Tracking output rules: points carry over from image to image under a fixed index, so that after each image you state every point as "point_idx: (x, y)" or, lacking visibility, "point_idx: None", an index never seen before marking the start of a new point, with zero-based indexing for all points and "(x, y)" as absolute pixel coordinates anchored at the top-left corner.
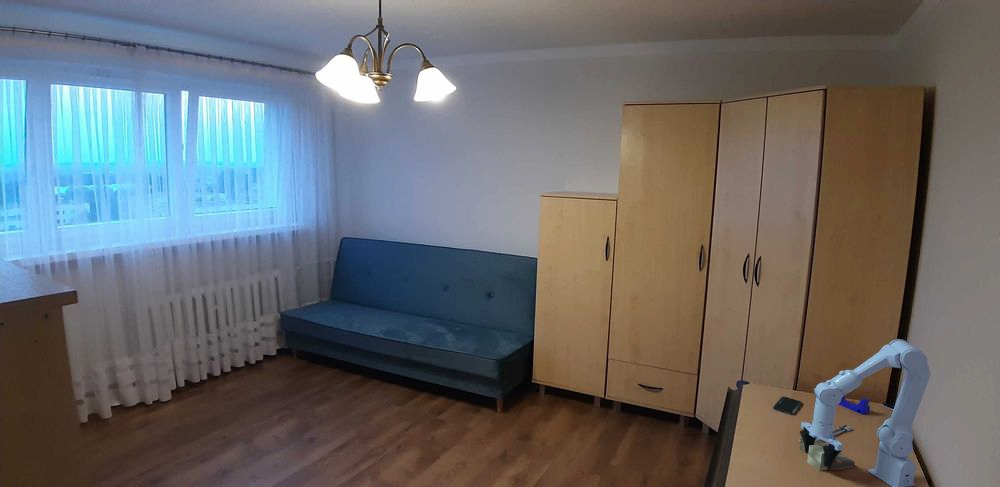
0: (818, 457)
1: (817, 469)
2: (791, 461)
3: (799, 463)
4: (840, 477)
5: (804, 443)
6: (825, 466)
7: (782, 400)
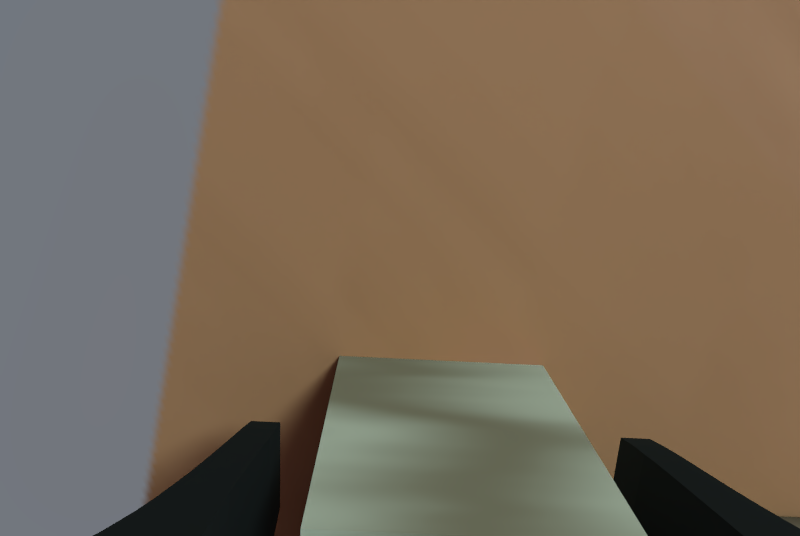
0: (378, 454)
1: (371, 358)
2: (627, 164)
3: (551, 238)
4: (168, 484)
5: (766, 522)
6: (252, 422)
7: None
